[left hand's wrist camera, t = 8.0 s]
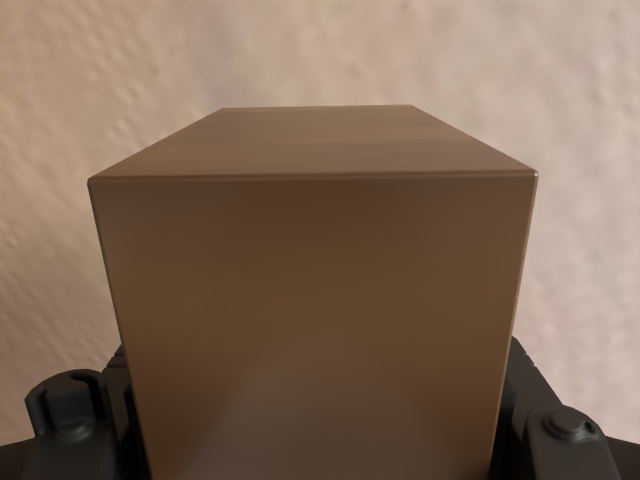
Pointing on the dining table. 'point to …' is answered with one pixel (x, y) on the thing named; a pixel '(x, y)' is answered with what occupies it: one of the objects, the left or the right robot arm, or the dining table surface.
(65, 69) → the dining table surface
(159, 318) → the bar
